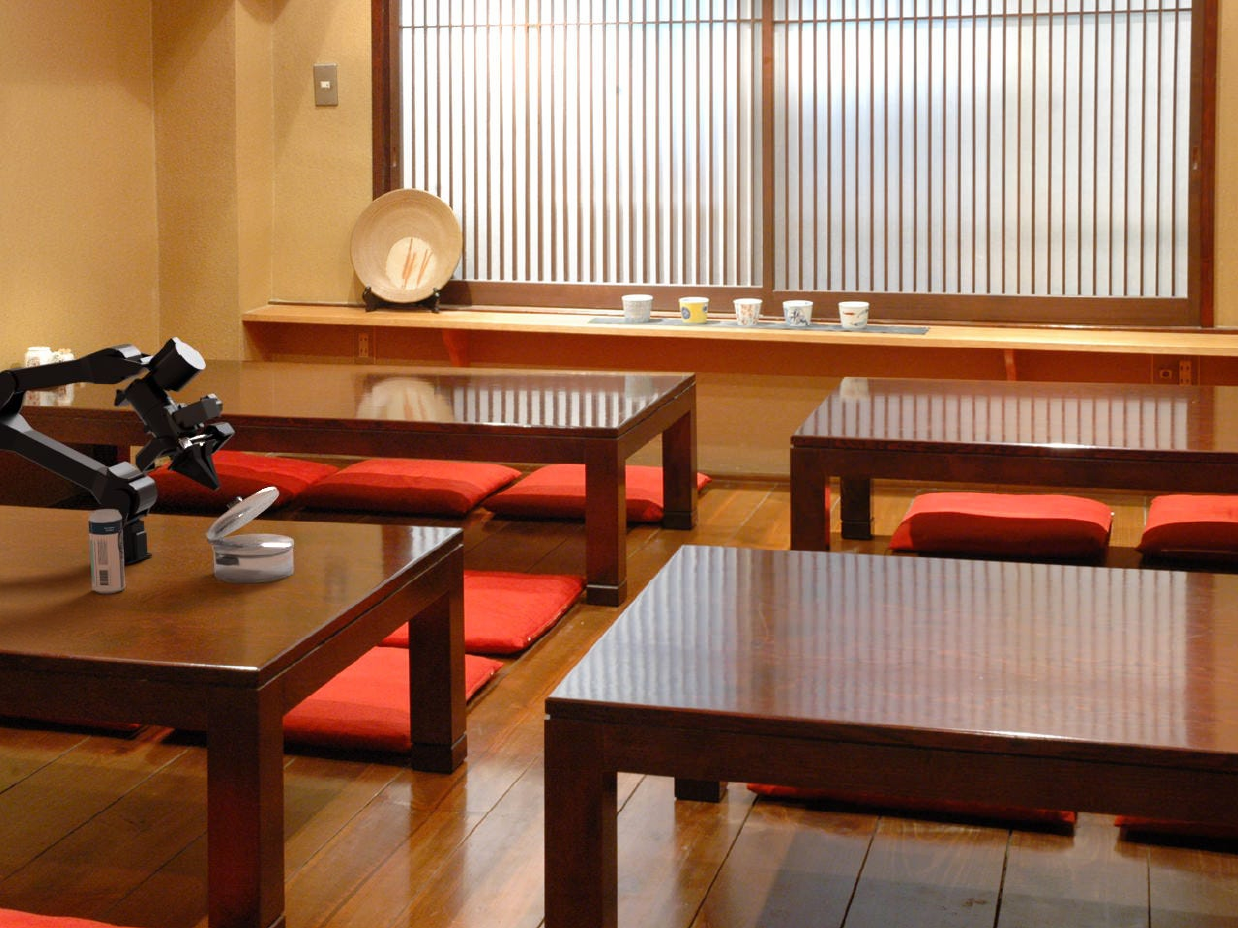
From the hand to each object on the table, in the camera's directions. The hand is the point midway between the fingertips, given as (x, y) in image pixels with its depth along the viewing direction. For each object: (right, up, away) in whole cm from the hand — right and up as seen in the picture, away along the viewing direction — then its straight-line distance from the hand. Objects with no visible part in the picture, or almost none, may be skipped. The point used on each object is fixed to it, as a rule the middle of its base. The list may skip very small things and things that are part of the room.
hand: (217, 488), depth 247 cm
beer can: (-14, -15, -10) cm, 23 cm away
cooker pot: (+6, -13, 0) cm, 14 cm away
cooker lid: (+4, -5, -1) cm, 6 cm away
